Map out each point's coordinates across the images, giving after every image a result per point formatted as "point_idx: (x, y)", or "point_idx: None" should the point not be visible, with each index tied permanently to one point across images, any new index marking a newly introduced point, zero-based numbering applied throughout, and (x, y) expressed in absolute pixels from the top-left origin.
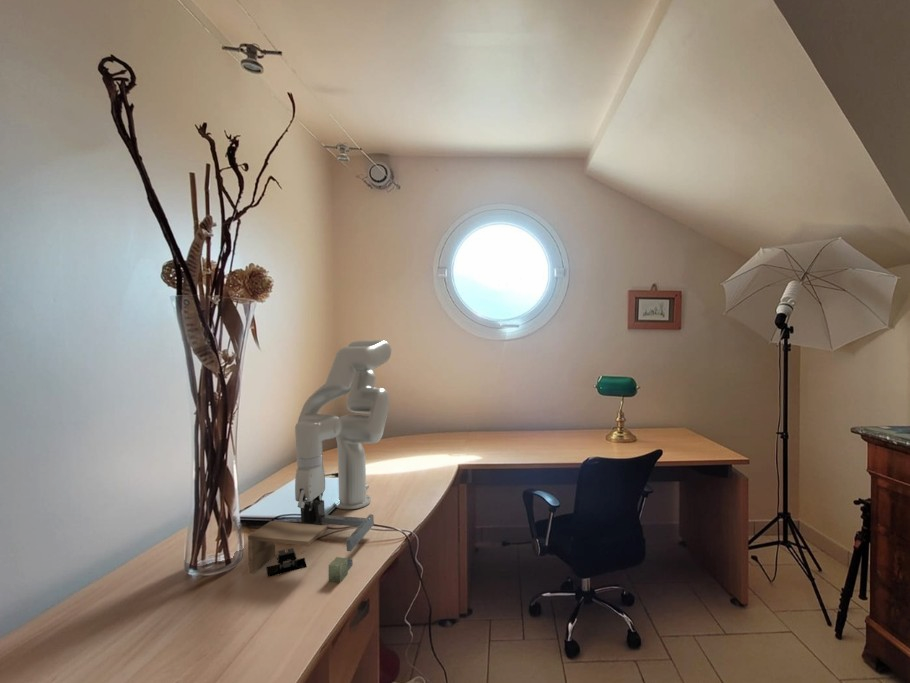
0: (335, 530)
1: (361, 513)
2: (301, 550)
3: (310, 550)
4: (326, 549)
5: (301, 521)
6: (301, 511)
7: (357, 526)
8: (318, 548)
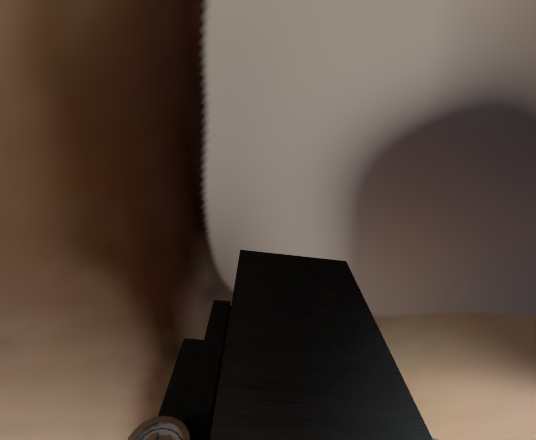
0: None
1: (500, 430)
2: (5, 328)
3: (25, 370)
4: (65, 430)
5: (239, 260)
6: (228, 336)
7: None
8: (61, 396)
